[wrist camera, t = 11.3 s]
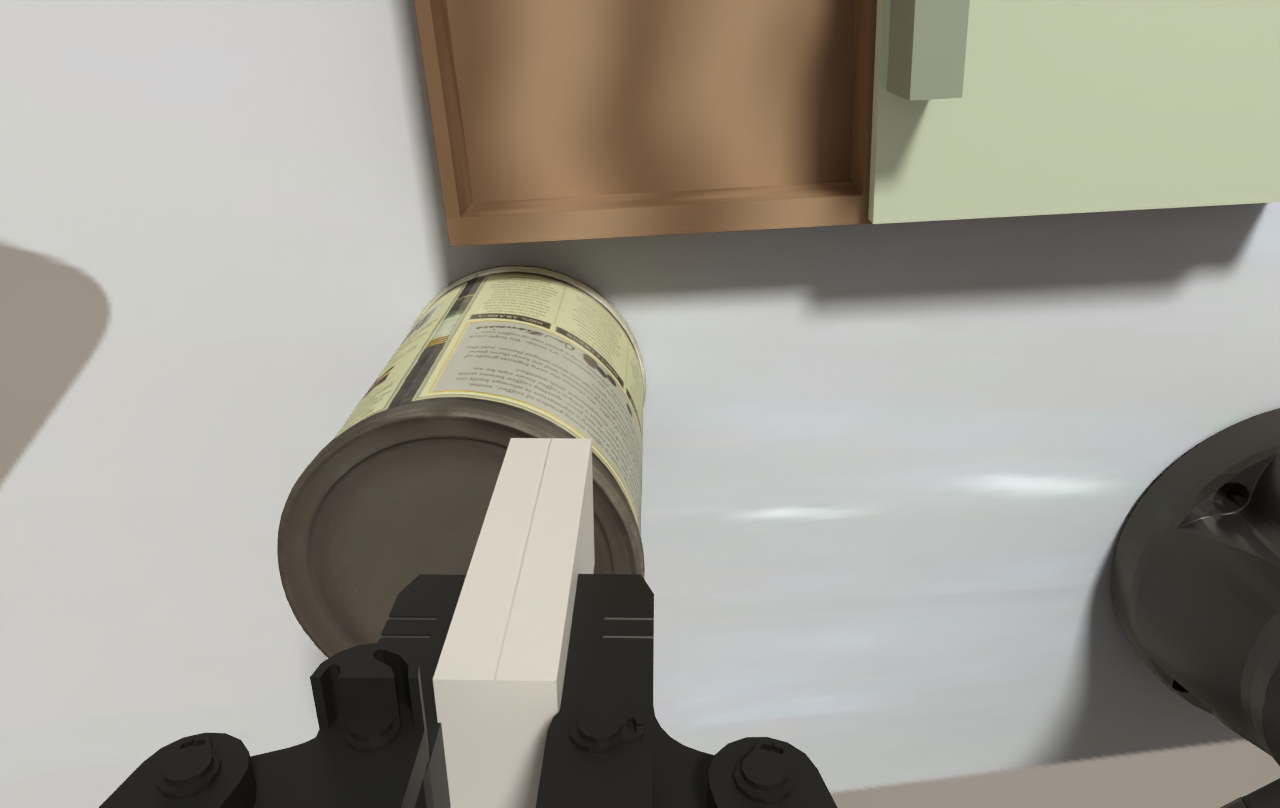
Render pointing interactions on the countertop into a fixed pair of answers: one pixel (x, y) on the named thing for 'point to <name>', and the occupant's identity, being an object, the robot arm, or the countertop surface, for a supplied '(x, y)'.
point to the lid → (1072, 107)
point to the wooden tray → (648, 115)
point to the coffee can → (463, 446)
